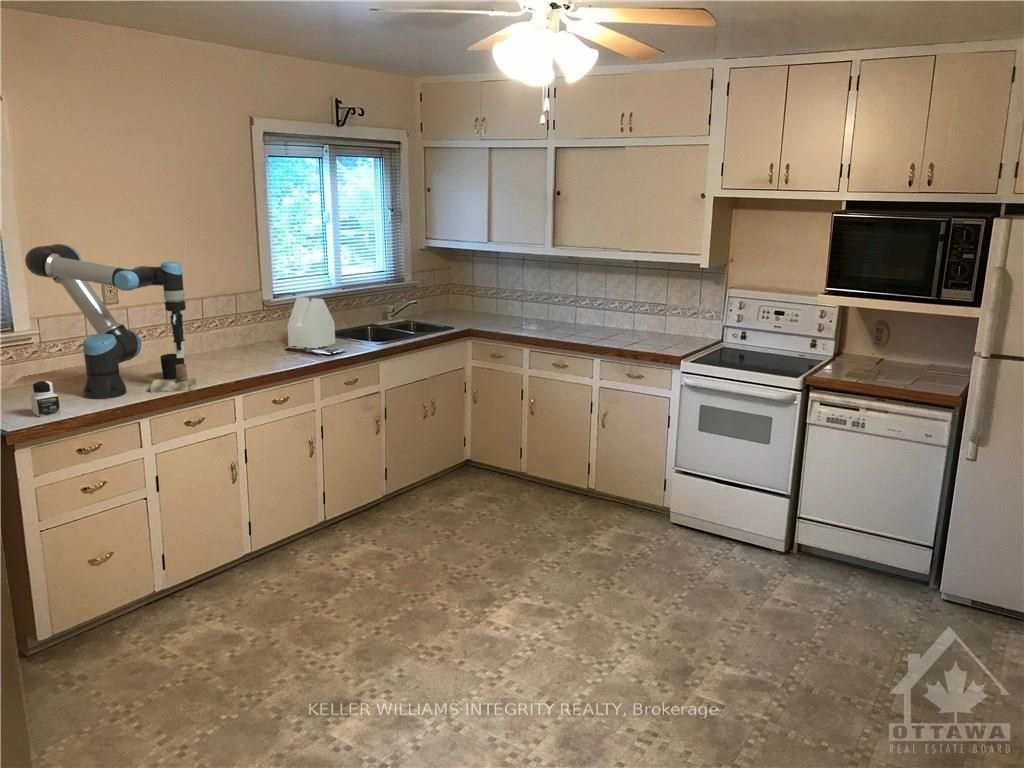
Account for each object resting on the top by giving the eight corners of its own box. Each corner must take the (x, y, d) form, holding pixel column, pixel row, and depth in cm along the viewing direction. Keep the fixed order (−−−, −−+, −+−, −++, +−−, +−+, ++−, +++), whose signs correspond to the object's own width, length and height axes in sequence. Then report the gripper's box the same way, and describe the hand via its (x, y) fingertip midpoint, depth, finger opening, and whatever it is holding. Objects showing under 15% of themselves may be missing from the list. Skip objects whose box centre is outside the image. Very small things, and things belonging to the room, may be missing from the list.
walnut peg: (176, 389, 321) (174, 366, 318) (178, 387, 325) (176, 364, 322) (187, 389, 322) (185, 365, 319) (189, 386, 326) (187, 363, 323)
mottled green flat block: (151, 392, 317) (150, 385, 316) (155, 386, 325) (154, 379, 324) (192, 390, 320) (192, 383, 319) (196, 385, 329) (195, 378, 328)
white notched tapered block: (312, 340, 424) (310, 294, 418) (335, 343, 418) (333, 297, 412) (288, 346, 407) (285, 299, 401) (312, 349, 401) (309, 301, 395)
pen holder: (186, 375, 346) (184, 353, 343) (184, 380, 337) (182, 357, 334) (163, 376, 343) (161, 354, 340) (161, 381, 334) (159, 358, 332)
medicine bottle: (39, 417, 282) (34, 385, 278) (32, 413, 286) (27, 382, 283) (60, 413, 287) (56, 382, 284) (53, 409, 291) (49, 378, 288)
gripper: (182, 302, 309) (187, 360, 315) (187, 297, 321) (192, 353, 327) (161, 303, 307) (168, 361, 313) (167, 298, 319) (173, 354, 325)
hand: (180, 357), depth 320 cm, fingers closed
